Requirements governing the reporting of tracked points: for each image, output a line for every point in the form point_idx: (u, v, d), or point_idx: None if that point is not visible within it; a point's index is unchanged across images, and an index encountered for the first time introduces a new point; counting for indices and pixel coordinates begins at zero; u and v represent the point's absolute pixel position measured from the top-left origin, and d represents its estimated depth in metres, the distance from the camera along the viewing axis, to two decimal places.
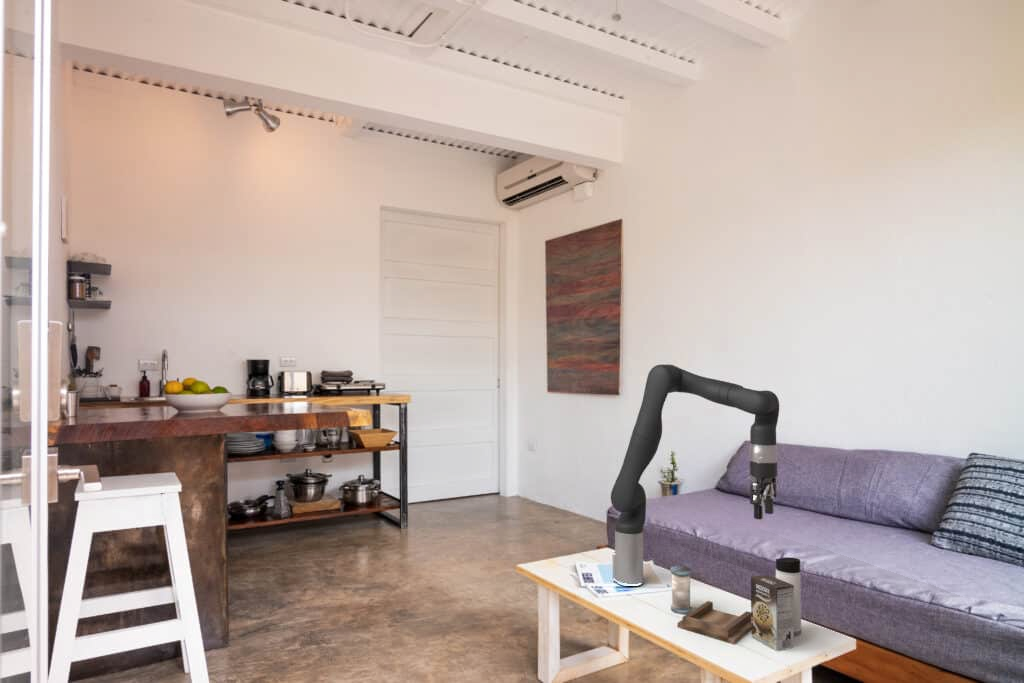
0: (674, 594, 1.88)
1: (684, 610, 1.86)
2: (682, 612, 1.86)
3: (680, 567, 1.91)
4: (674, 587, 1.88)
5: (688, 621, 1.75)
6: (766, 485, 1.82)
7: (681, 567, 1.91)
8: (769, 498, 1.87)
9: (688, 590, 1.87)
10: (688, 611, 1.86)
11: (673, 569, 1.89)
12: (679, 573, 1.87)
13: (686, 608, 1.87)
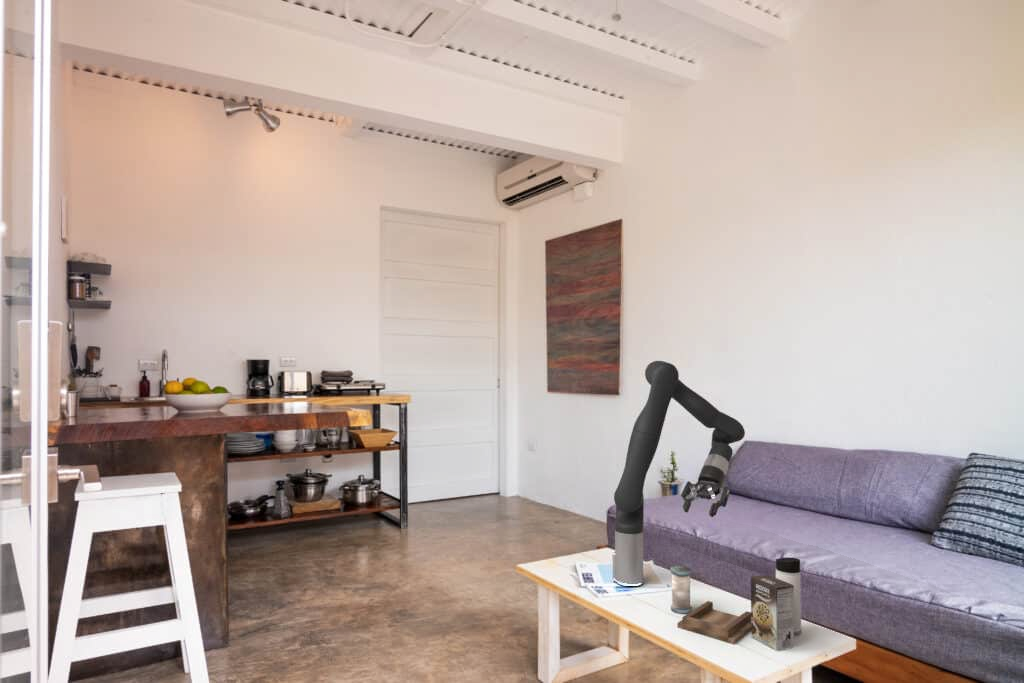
0: (674, 594, 1.88)
1: (684, 610, 1.86)
2: (682, 612, 1.86)
3: (680, 567, 1.91)
4: (674, 587, 1.88)
5: (688, 621, 1.75)
6: None
7: (681, 567, 1.91)
8: (690, 499, 2.04)
9: (688, 590, 1.87)
10: (688, 611, 1.86)
11: (673, 569, 1.89)
12: (679, 573, 1.87)
13: (686, 608, 1.87)
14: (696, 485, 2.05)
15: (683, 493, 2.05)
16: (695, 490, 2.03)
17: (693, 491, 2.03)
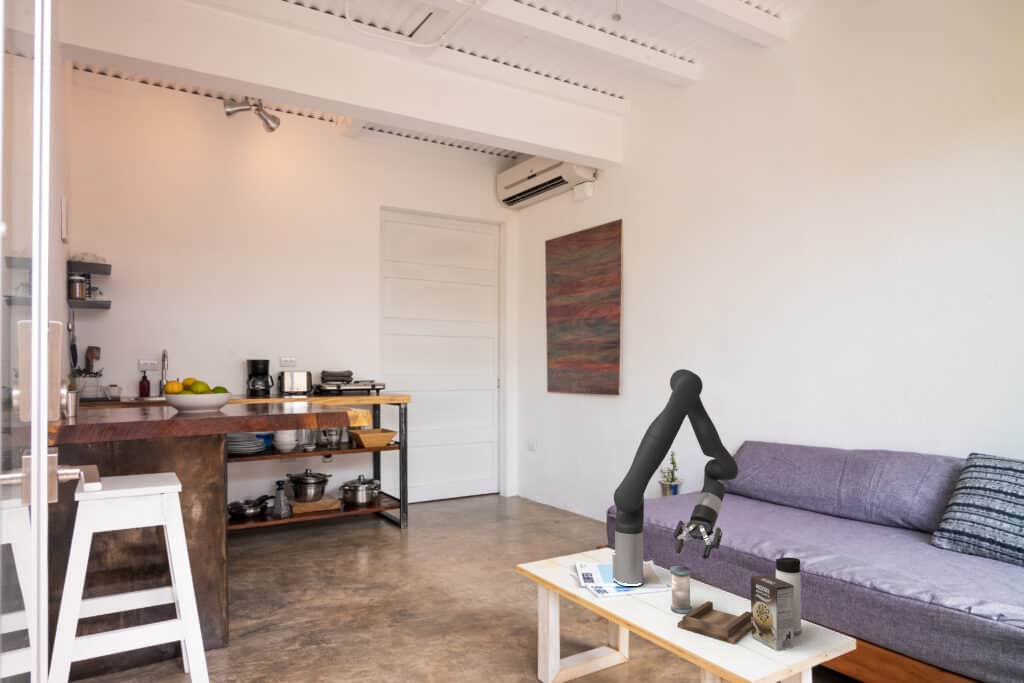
0: (674, 594, 1.88)
1: (684, 610, 1.86)
2: (682, 612, 1.86)
3: (680, 567, 1.91)
4: (674, 587, 1.88)
5: (688, 621, 1.75)
6: None
7: (681, 567, 1.91)
8: (682, 540, 1.99)
9: (688, 590, 1.87)
10: (688, 611, 1.87)
11: (673, 569, 1.89)
12: (679, 573, 1.87)
13: (686, 608, 1.87)
14: (688, 525, 2.01)
15: (675, 533, 2.01)
16: (687, 530, 1.99)
17: (685, 531, 1.99)
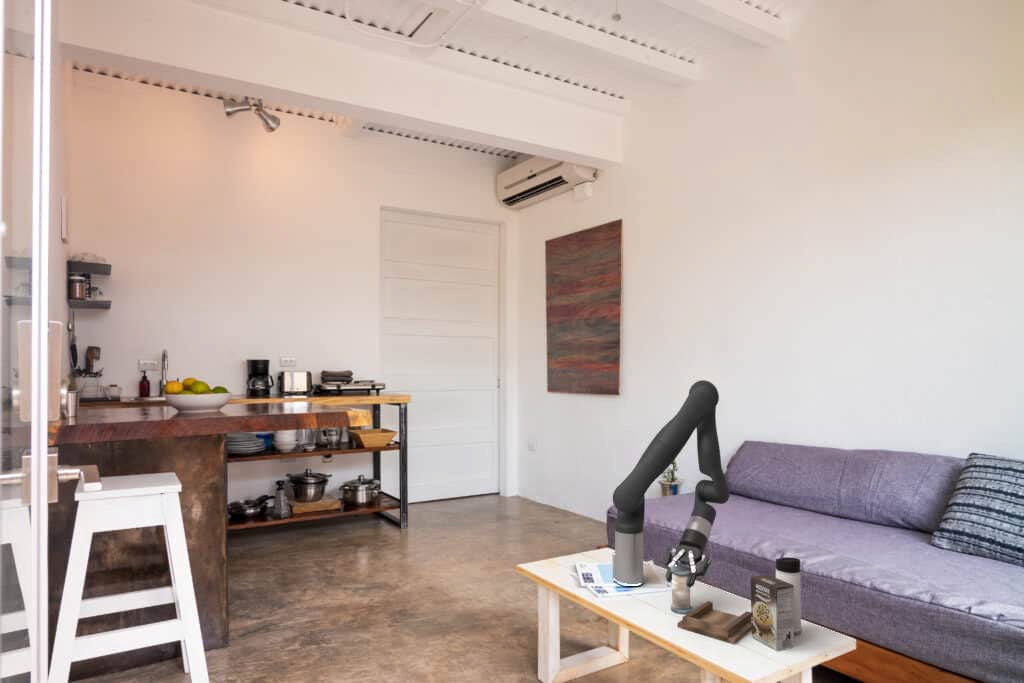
0: (674, 594, 1.88)
1: (684, 610, 1.86)
2: (682, 612, 1.86)
3: (680, 567, 1.91)
4: (674, 587, 1.88)
5: (688, 621, 1.75)
6: None
7: (681, 567, 1.91)
8: None
9: (688, 590, 1.87)
10: (688, 611, 1.86)
11: (673, 569, 1.89)
12: (680, 573, 1.87)
13: (686, 608, 1.87)
14: (677, 550, 1.95)
15: (666, 560, 1.94)
16: (677, 557, 1.93)
17: (675, 558, 1.93)
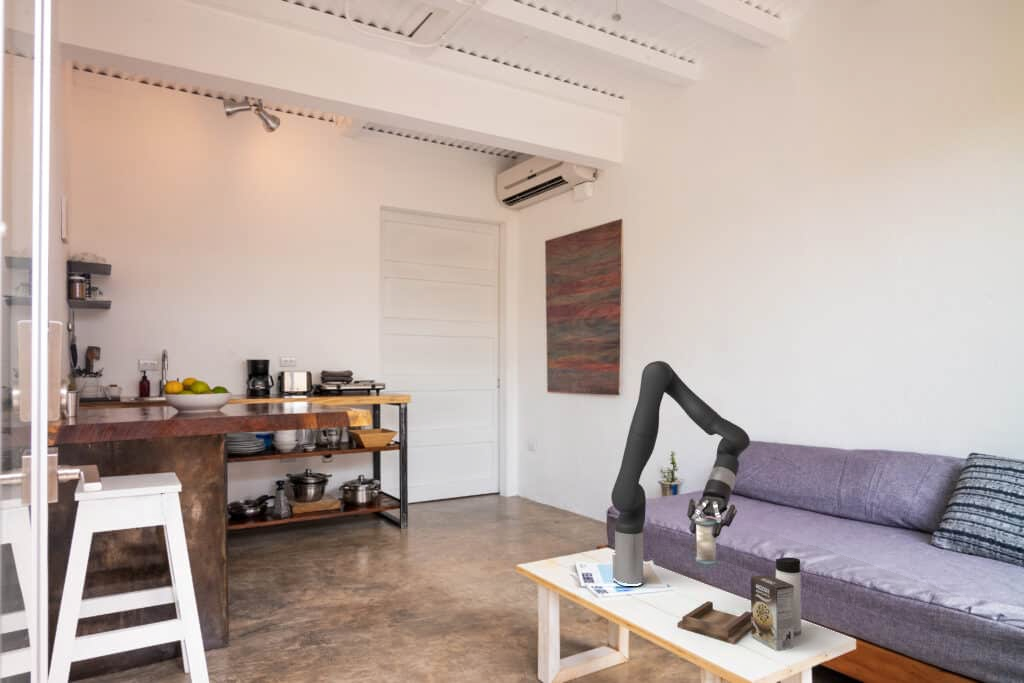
0: (699, 545, 1.81)
1: (710, 561, 1.79)
2: (708, 563, 1.79)
3: (704, 518, 1.84)
4: (699, 538, 1.81)
5: (688, 621, 1.75)
6: None
7: (705, 518, 1.84)
8: None
9: (714, 541, 1.80)
10: (714, 562, 1.79)
11: (697, 520, 1.82)
12: (705, 523, 1.80)
13: (712, 559, 1.80)
14: (701, 501, 1.88)
15: (689, 512, 1.87)
16: (701, 508, 1.86)
17: (699, 509, 1.86)
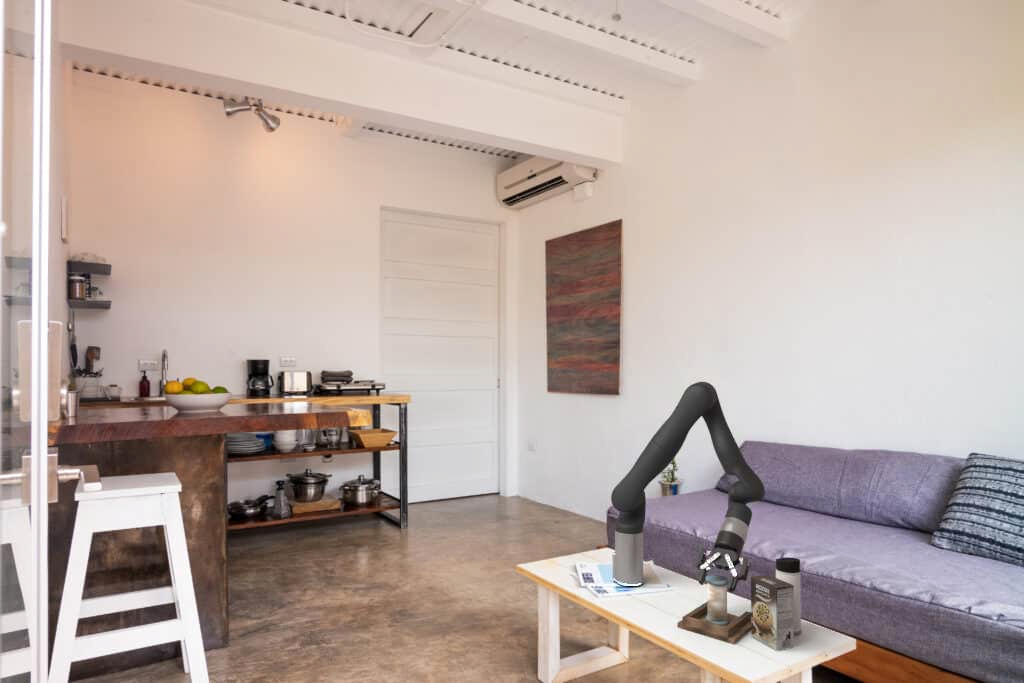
0: (710, 605, 1.77)
1: (721, 622, 1.75)
2: (719, 624, 1.75)
3: (716, 576, 1.80)
4: (710, 597, 1.77)
5: (688, 621, 1.75)
6: None
7: (717, 576, 1.80)
8: (706, 569, 1.82)
9: (725, 600, 1.76)
10: (725, 623, 1.75)
11: (709, 578, 1.78)
12: (716, 583, 1.75)
13: (723, 620, 1.75)
14: (712, 553, 1.84)
15: (697, 562, 1.84)
16: (711, 559, 1.82)
17: (709, 560, 1.82)
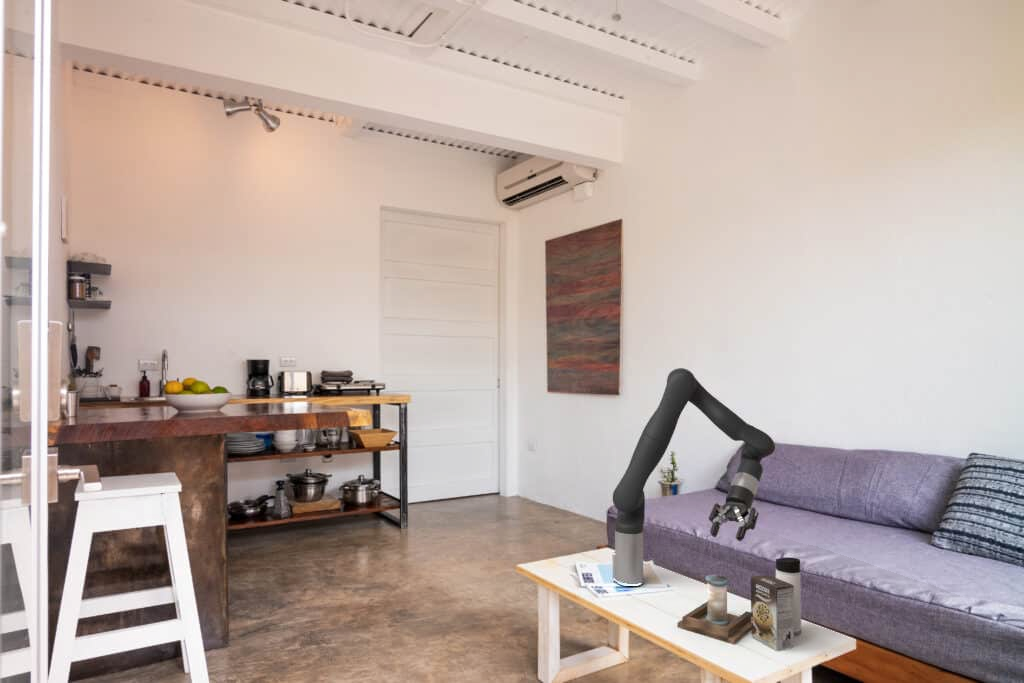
0: (710, 605, 1.77)
1: (721, 622, 1.75)
2: (719, 624, 1.75)
3: (716, 576, 1.80)
4: (710, 597, 1.77)
5: (688, 621, 1.75)
6: None
7: (717, 576, 1.80)
8: (718, 523, 1.93)
9: (725, 600, 1.76)
10: (725, 623, 1.75)
11: (709, 578, 1.78)
12: (716, 583, 1.75)
13: (723, 620, 1.75)
14: (724, 507, 1.94)
15: (710, 516, 1.95)
16: (722, 513, 1.92)
17: (720, 514, 1.93)
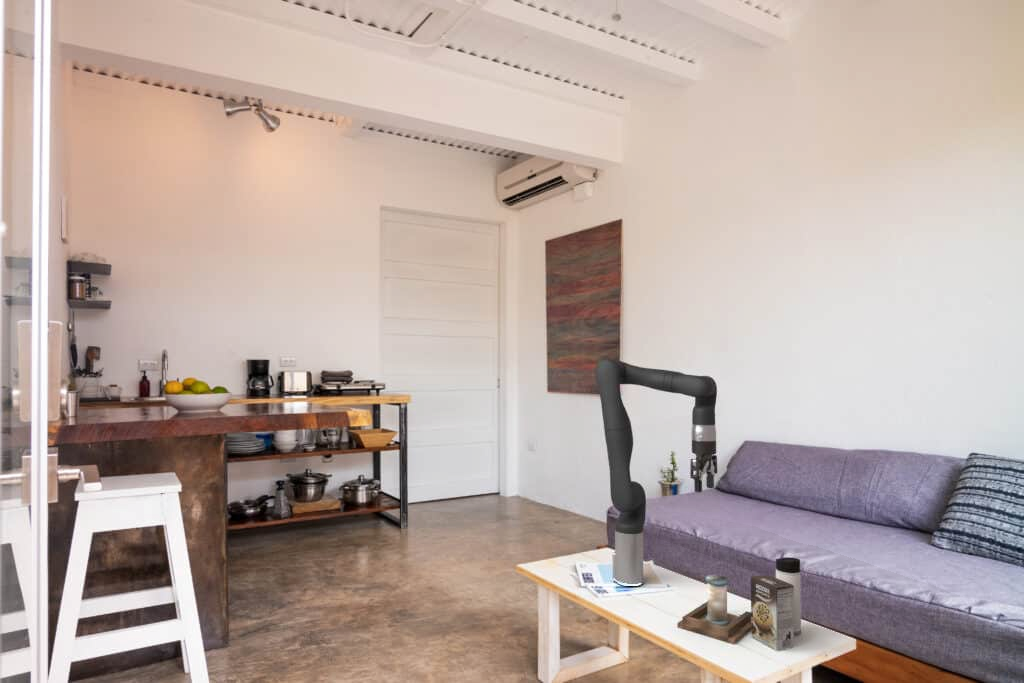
0: (710, 605, 1.77)
1: (721, 622, 1.75)
2: (719, 624, 1.75)
3: (716, 576, 1.80)
4: (710, 597, 1.77)
5: (688, 621, 1.75)
6: (706, 461, 2.00)
7: (717, 576, 1.80)
8: (710, 474, 2.05)
9: (725, 600, 1.76)
10: (725, 623, 1.75)
11: (709, 578, 1.78)
12: (716, 583, 1.75)
13: (723, 620, 1.75)
14: None
15: None
16: None
17: None
